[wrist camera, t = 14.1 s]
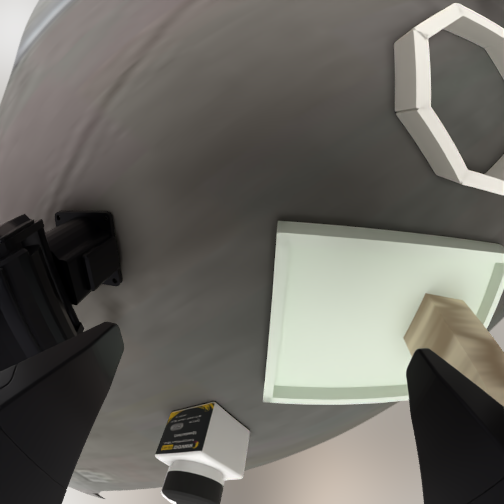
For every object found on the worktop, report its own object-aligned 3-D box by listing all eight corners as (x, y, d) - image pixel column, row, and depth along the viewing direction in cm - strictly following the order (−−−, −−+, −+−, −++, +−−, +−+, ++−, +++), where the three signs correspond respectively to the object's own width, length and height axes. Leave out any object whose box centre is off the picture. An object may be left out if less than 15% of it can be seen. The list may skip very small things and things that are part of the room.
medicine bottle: (214, 399, 28) (188, 495, 17) (251, 430, 30) (238, 516, 19) (170, 410, 30) (140, 491, 19) (207, 439, 32) (187, 513, 21)
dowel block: (403, 337, 21) (449, 455, 10) (425, 293, 19) (497, 408, 8) (440, 341, 21) (491, 444, 10) (463, 300, 19) (533, 399, 8)
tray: (265, 382, 26) (262, 401, 23) (277, 220, 19) (276, 232, 17) (442, 378, 24) (449, 393, 22) (499, 243, 18) (514, 255, 15)
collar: (390, 166, 17) (411, 173, 14) (389, 1, 12) (406, -18, 9) (512, 195, 16) (537, 206, 13) (514, 57, 11) (538, 53, 8)
